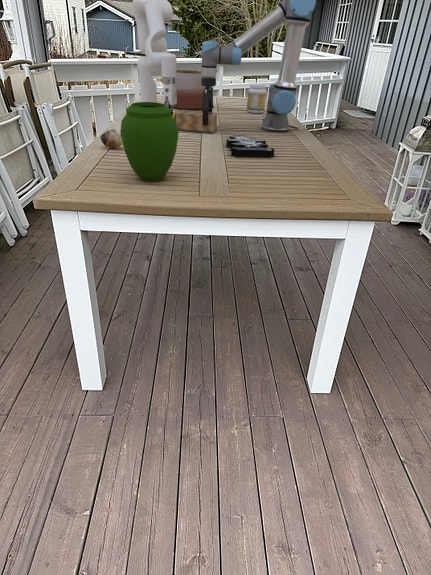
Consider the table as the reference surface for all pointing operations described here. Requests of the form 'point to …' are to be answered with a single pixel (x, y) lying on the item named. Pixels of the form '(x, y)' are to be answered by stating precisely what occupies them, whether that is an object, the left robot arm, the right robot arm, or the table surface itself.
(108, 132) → the seashell
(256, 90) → the supplement tub
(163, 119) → the vase
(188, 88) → the planter
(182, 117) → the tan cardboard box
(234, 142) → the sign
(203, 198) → the table surface
